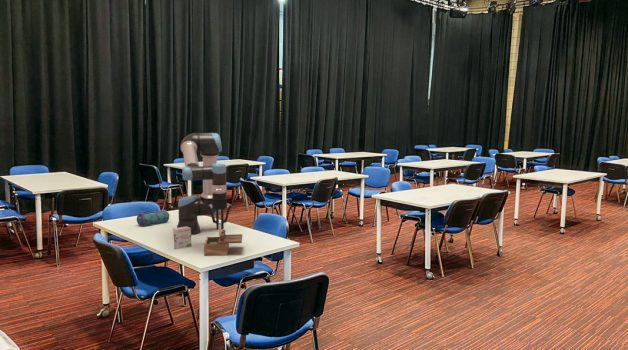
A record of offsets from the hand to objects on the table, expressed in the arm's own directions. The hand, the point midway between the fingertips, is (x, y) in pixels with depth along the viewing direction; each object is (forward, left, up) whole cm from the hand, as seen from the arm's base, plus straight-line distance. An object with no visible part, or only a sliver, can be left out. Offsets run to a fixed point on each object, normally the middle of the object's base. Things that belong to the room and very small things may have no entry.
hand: (220, 235), depth 259 cm
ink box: (-12, -22, -10) cm, 27 cm away
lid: (0, +5, -3) cm, 6 cm away
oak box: (0, -2, -10) cm, 10 cm away
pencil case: (-78, -51, -10) cm, 94 cm away
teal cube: (-3, -4, -9) cm, 10 cm away
